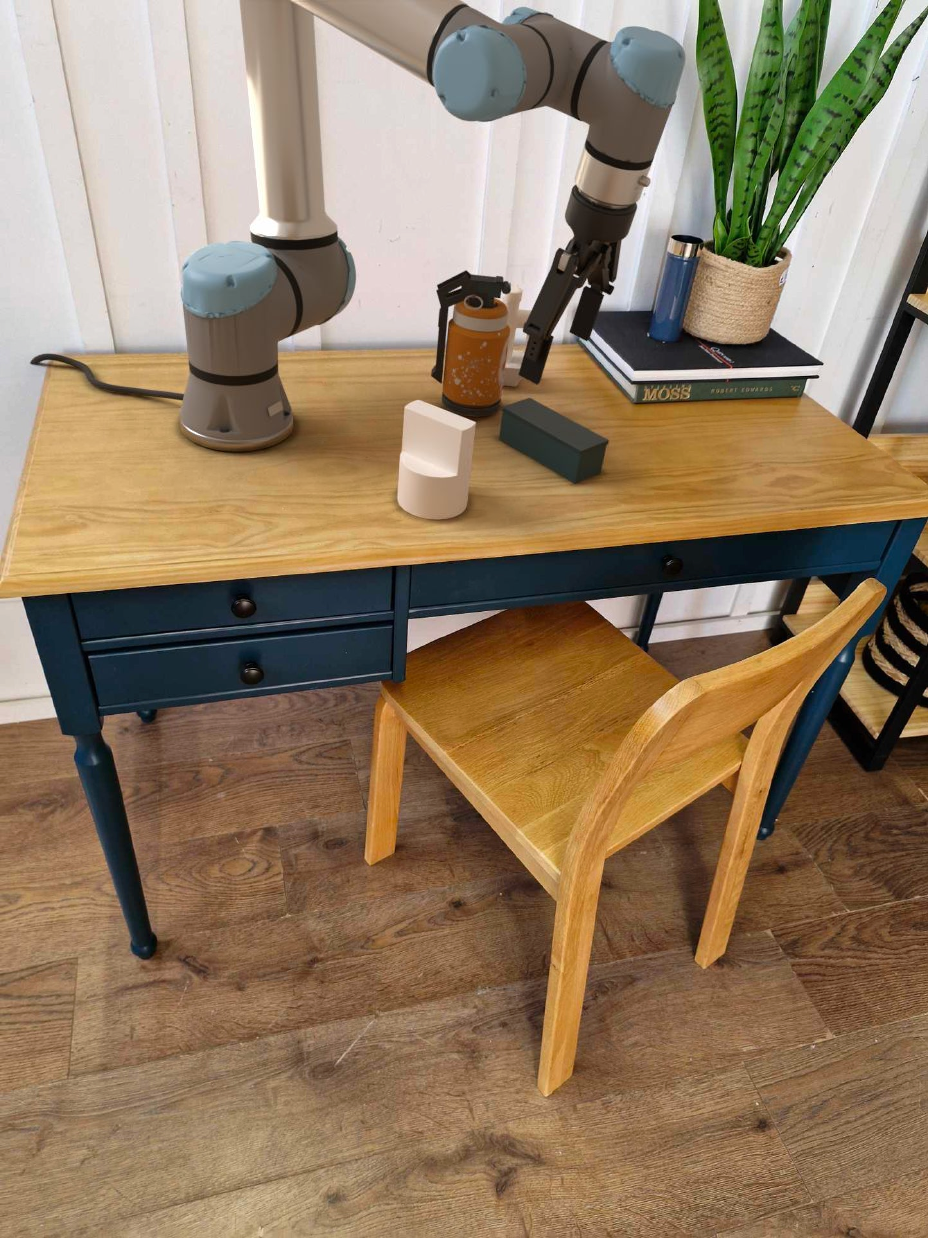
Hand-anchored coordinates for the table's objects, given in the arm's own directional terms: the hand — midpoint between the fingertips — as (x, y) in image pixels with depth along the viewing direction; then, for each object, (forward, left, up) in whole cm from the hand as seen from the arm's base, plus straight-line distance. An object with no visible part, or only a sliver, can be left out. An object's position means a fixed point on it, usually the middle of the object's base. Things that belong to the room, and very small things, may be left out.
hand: (554, 356), depth 117 cm
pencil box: (-2, +4, -16) cm, 17 cm away
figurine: (-24, +16, -16) cm, 33 cm away
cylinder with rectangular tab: (-2, -18, -16) cm, 24 cm away
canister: (-20, +4, -16) cm, 26 cm away
